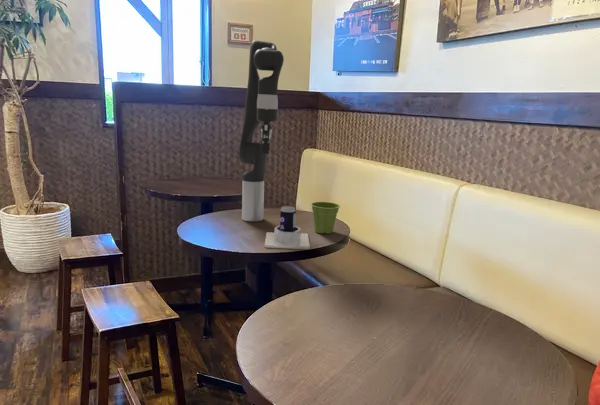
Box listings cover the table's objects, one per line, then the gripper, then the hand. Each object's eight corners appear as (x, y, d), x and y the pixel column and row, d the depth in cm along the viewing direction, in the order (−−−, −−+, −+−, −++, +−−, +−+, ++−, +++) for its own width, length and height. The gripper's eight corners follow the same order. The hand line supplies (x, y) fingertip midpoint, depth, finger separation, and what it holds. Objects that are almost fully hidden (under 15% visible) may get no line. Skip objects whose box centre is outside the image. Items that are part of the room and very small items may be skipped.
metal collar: (266, 234, 176) (266, 222, 175) (307, 236, 177) (308, 223, 176) (264, 247, 160) (265, 234, 159) (309, 249, 161) (310, 235, 160)
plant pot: (334, 237, 177) (336, 209, 174) (305, 233, 180) (306, 205, 178) (341, 230, 188) (343, 203, 185) (314, 226, 191) (315, 200, 189)
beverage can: (285, 235, 172) (286, 205, 170) (297, 238, 169) (299, 207, 166) (276, 239, 168) (277, 207, 165) (288, 242, 164) (289, 210, 162)
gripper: (258, 106, 171) (257, 149, 175) (255, 107, 158) (254, 154, 161) (277, 107, 172) (276, 150, 175) (277, 108, 158) (275, 154, 161)
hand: (266, 152), depth 168 cm, fingers open, 8 cm apart
